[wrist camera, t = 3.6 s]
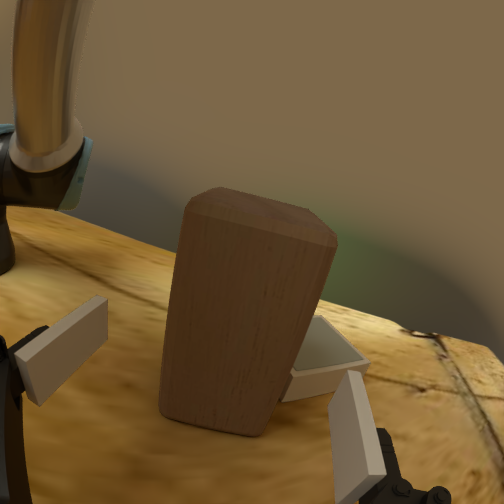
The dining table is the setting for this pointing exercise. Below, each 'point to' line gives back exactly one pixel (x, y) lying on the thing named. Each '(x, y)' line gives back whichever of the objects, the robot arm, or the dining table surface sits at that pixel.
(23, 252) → the dining table surface
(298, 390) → the tray
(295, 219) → the block
